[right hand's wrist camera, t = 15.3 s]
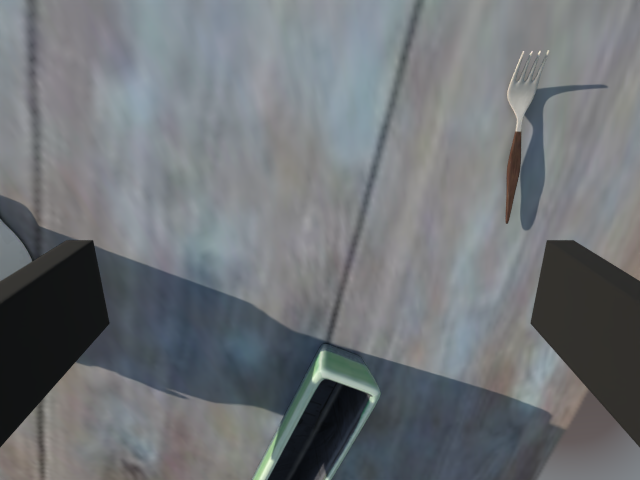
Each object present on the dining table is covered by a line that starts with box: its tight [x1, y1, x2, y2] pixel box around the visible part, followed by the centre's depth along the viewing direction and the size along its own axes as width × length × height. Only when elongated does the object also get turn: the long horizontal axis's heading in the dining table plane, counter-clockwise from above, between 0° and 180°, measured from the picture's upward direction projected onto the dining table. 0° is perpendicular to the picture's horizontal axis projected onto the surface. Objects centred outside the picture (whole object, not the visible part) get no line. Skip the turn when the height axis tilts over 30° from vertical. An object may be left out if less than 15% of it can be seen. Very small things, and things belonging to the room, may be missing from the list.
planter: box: [252, 344, 381, 480], centre depth 49 cm, size 28×7×7 cm, turn 156°
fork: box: [506, 50, 549, 224], centre depth 40 cm, size 3×16×2 cm, turn 2°
